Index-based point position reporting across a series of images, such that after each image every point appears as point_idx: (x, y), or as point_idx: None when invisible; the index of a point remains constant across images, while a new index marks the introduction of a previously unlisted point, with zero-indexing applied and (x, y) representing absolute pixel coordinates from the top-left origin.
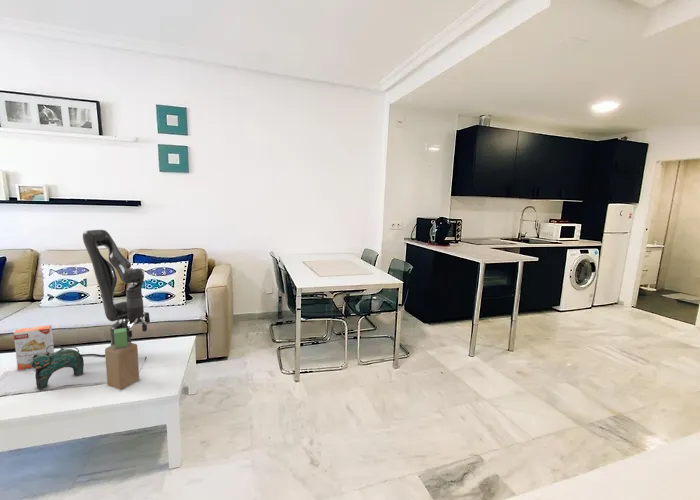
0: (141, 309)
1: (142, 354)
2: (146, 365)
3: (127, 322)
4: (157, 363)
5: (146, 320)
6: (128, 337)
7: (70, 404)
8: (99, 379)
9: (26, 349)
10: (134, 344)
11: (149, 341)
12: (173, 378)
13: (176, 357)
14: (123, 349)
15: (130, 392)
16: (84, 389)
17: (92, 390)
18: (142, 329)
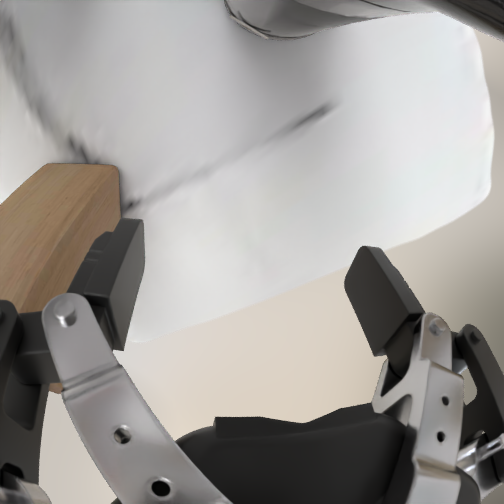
0: None
1: (350, 71)
2: (237, 173)
3: (31, 500)
4: (268, 208)
5: (462, 367)
6: (333, 17)
7: None
8: (62, 81)
9: None
10: (55, 392)
11: (469, 46)
12: (185, 316)
13: (333, 247)
14: None
15: None
16: (8, 110)
17: (15, 142)
18: (374, 258)
